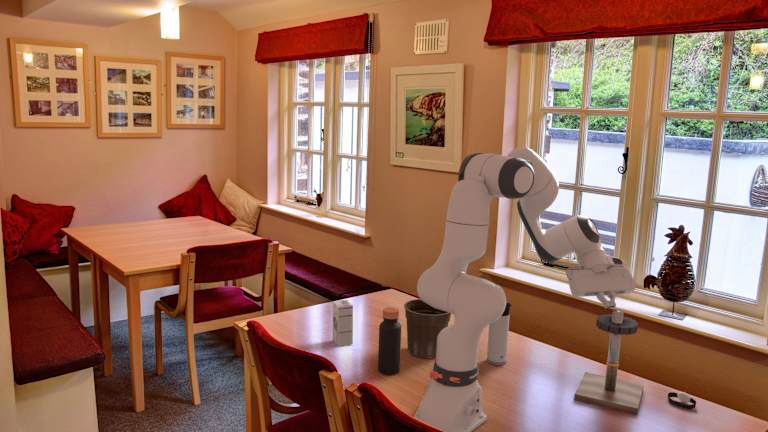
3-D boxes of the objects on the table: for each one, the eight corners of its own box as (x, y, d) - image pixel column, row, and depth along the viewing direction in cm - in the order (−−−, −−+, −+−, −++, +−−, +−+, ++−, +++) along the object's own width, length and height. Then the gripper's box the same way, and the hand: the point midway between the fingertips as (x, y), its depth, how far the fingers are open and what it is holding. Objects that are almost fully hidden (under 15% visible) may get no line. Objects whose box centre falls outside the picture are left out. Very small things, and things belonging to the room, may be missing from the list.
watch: (698, 407, 181) (699, 395, 181) (691, 412, 178) (693, 400, 178) (670, 397, 187) (672, 386, 186) (664, 402, 184) (665, 391, 183)
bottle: (401, 368, 200) (404, 307, 197) (396, 377, 194) (398, 314, 190) (381, 365, 202) (383, 305, 198) (375, 373, 196) (377, 312, 192)
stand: (636, 415, 175) (637, 408, 175) (573, 400, 183) (574, 393, 182) (643, 390, 190) (643, 384, 190) (584, 378, 198) (585, 371, 197)
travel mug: (507, 366, 204) (511, 307, 200) (486, 364, 205) (490, 305, 202) (507, 359, 210) (511, 301, 206) (487, 356, 211) (491, 299, 208)
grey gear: (634, 337, 175) (635, 330, 175) (593, 329, 180) (594, 323, 180) (639, 325, 185) (639, 318, 185) (599, 318, 190) (600, 312, 189)
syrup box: (353, 344, 218) (354, 304, 215) (336, 346, 216) (337, 306, 213) (348, 338, 223) (348, 299, 220) (331, 340, 221) (332, 300, 218)
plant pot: (456, 348, 218) (459, 303, 215) (440, 365, 203) (443, 317, 200) (413, 339, 224) (414, 295, 221) (394, 355, 210) (396, 309, 207)
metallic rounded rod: (615, 392, 184) (623, 313, 179) (603, 390, 185) (611, 311, 181) (616, 388, 187) (625, 310, 182) (604, 385, 188) (612, 308, 184)
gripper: (568, 262, 187) (584, 304, 180) (628, 259, 193) (646, 300, 185) (559, 272, 192) (574, 314, 185) (618, 269, 198) (634, 310, 190)
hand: (610, 307), depth 185 cm, fingers closed
